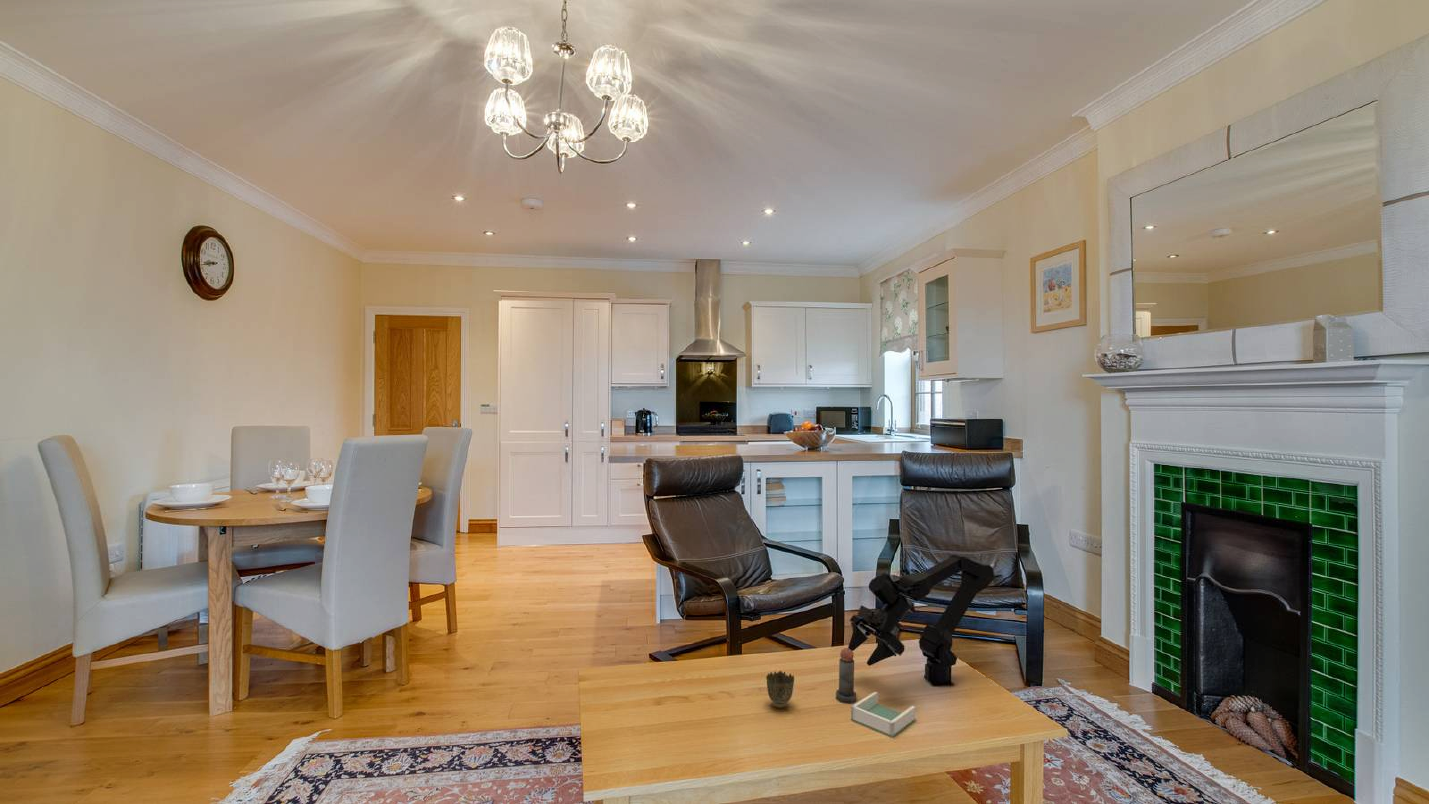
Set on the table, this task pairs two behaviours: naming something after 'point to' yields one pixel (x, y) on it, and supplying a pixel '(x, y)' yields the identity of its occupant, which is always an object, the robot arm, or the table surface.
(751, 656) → the table surface
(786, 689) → the cup
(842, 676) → the player figure
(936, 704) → the table surface
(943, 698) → the table surface
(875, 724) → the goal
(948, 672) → the robot arm
